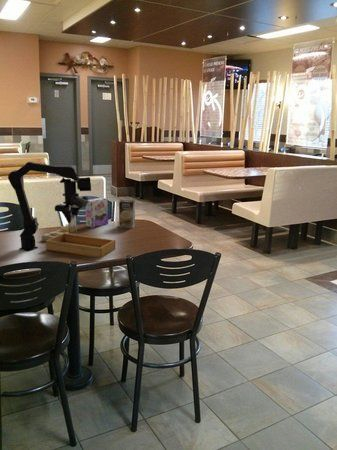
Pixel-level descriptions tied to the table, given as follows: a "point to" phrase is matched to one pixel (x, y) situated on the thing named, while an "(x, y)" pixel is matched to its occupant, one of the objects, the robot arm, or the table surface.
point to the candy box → (97, 212)
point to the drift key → (64, 229)
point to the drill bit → (72, 225)
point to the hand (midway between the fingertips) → (72, 222)
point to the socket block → (53, 234)
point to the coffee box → (127, 213)
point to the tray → (81, 245)
